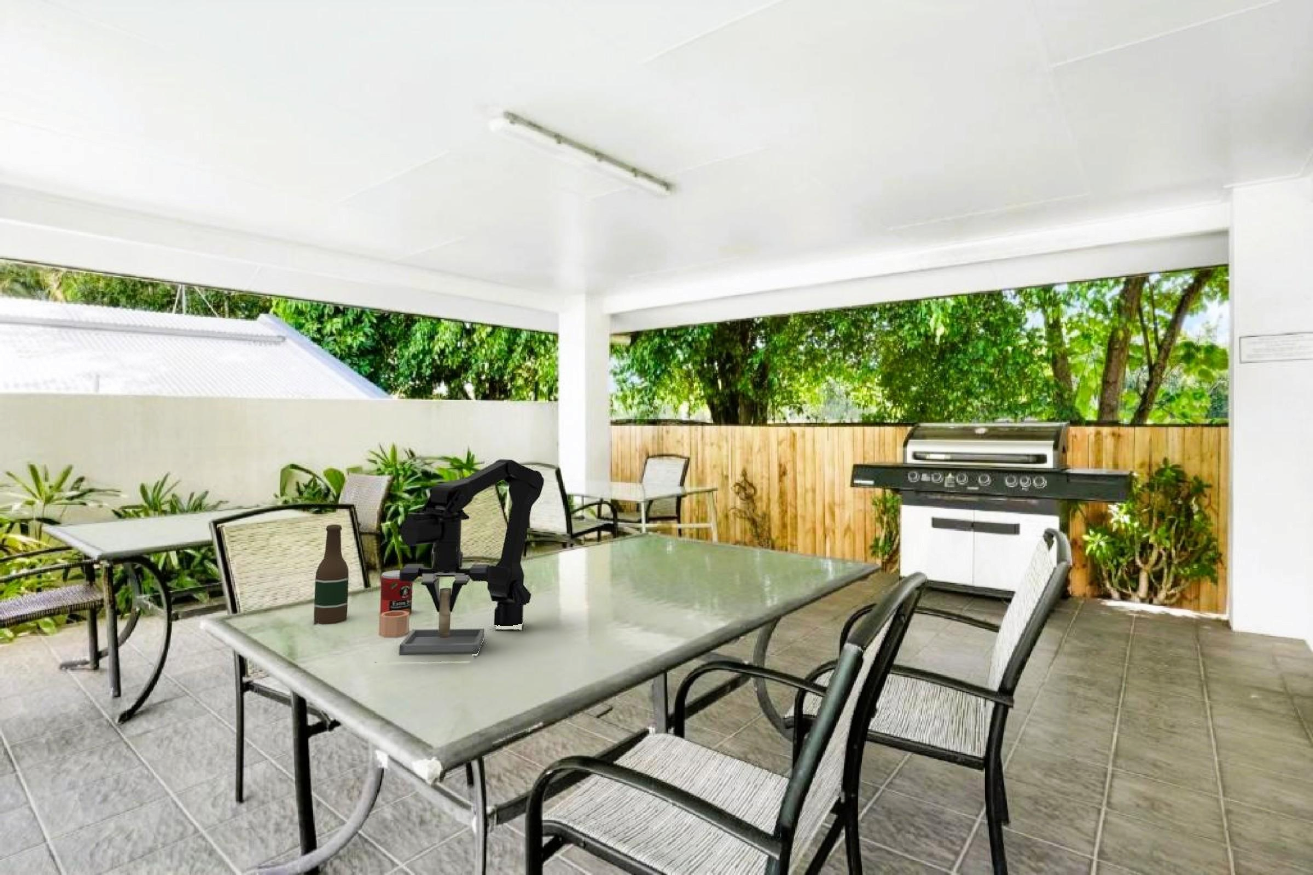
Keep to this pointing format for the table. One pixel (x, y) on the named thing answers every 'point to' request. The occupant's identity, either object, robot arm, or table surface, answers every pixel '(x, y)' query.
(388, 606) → the canned food
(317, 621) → the beer bottle
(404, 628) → the cup
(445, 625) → the dowel pin
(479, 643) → the tray
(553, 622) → the table surface
